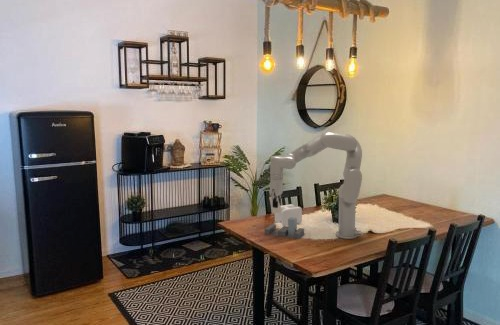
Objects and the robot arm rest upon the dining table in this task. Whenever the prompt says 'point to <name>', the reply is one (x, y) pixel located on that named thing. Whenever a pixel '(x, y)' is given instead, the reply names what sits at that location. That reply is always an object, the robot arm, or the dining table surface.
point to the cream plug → (275, 210)
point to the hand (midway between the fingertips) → (276, 206)
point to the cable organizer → (289, 214)
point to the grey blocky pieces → (284, 232)
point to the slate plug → (292, 226)
